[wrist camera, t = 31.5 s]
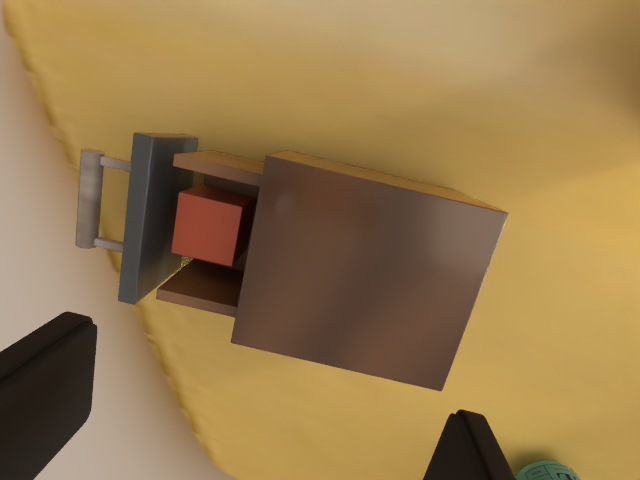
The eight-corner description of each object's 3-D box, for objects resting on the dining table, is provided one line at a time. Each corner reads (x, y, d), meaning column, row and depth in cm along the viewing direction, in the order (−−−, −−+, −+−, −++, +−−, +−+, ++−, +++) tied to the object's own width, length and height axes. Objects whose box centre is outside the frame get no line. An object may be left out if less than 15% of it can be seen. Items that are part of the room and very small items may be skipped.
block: (201, 184, 30) (178, 191, 26) (256, 197, 30) (242, 207, 26) (193, 236, 31) (170, 252, 27) (246, 249, 31) (231, 267, 27)
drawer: (113, 251, 33) (46, 284, 25) (124, 119, 30) (53, 113, 22) (316, 299, 33) (309, 345, 26) (347, 173, 30) (350, 184, 23)
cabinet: (259, 288, 34) (230, 343, 25) (287, 150, 31) (265, 154, 22) (413, 324, 34) (441, 392, 25) (458, 191, 31) (509, 213, 22)
